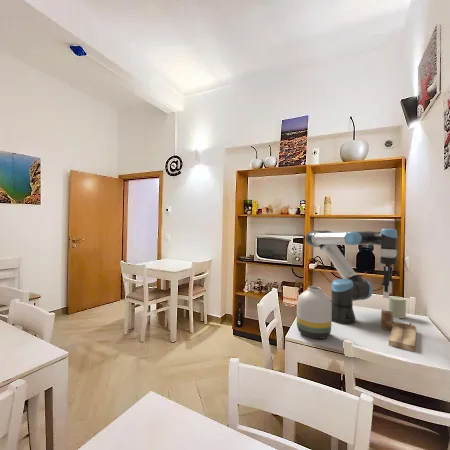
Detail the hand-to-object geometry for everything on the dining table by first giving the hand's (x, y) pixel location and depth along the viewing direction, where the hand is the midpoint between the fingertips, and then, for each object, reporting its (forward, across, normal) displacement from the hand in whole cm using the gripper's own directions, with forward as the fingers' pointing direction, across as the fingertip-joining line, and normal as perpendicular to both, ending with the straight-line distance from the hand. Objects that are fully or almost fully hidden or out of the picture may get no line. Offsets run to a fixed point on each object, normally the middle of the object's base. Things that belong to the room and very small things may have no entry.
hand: (387, 295), depth 145 cm
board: (+18, -10, -8) cm, 22 cm away
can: (+18, +26, -3) cm, 32 cm away
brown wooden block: (+18, 0, -5) cm, 19 cm away
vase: (+18, -35, +29) cm, 49 cm away
